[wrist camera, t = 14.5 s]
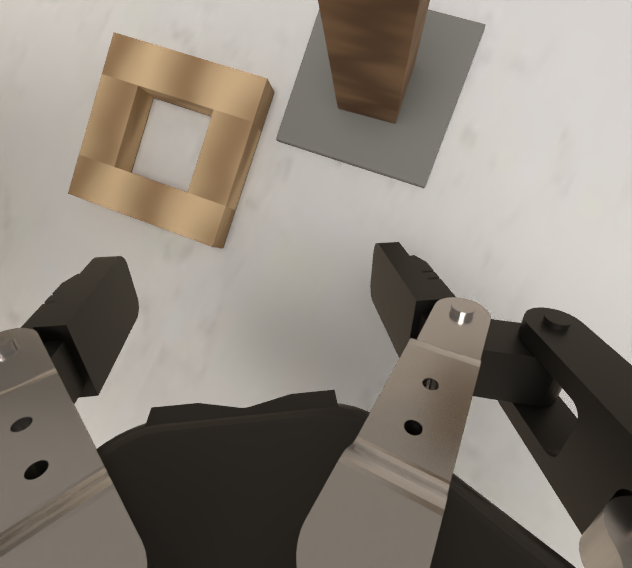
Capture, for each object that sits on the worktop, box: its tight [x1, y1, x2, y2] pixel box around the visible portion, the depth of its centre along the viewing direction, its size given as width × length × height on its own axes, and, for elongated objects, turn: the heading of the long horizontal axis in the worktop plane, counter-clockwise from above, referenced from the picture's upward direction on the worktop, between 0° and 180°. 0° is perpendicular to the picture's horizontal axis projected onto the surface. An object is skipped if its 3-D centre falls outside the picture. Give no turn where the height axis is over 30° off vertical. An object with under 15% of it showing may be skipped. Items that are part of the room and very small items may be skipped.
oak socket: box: [68, 33, 274, 248], centre depth 29 cm, size 13×13×2 cm
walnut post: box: [318, 0, 430, 124], centre depth 20 cm, size 4×4×14 cm
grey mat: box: [276, 9, 485, 188], centre depth 27 cm, size 12×12×1 cm
